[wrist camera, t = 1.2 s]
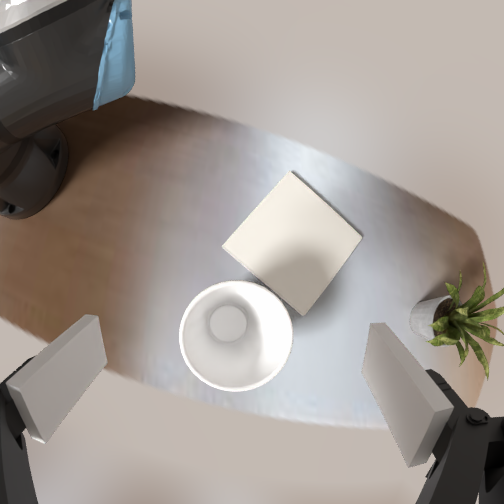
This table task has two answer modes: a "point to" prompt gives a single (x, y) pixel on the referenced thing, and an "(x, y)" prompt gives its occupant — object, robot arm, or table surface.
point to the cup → (236, 335)
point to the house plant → (456, 320)
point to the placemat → (293, 243)
